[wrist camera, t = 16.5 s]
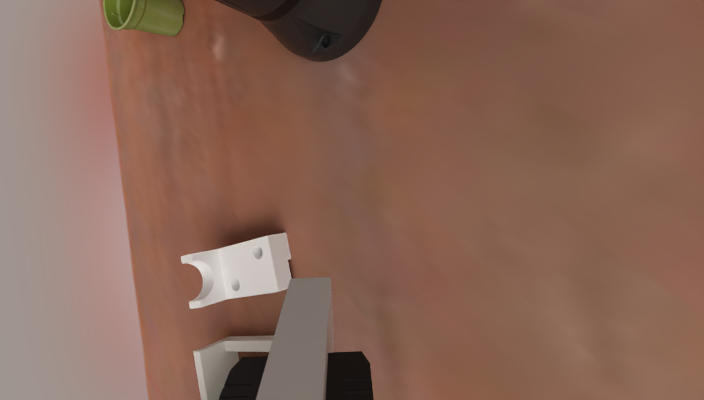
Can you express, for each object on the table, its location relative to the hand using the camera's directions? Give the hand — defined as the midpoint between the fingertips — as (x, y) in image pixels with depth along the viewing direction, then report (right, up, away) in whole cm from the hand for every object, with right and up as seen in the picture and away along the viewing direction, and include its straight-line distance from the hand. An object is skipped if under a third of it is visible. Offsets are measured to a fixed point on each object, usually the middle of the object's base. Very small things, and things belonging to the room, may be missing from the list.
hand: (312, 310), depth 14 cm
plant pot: (-27, +34, +47) cm, 65 cm away
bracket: (-11, -5, +39) cm, 41 cm away
